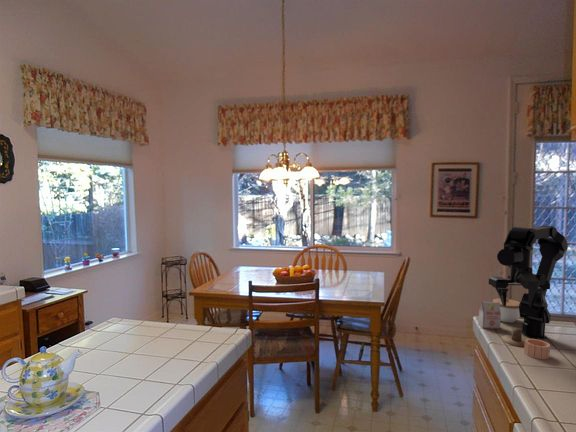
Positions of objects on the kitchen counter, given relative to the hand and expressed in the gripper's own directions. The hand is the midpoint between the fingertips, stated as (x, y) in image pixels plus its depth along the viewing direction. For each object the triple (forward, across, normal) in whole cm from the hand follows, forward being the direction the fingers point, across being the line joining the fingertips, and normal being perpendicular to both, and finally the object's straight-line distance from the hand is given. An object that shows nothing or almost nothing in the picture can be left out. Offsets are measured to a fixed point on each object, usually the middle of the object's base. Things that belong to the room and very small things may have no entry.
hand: (517, 306), depth 137 cm
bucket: (+13, +2, -9) cm, 16 cm away
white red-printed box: (+14, -1, +16) cm, 21 cm away
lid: (+14, +1, +1) cm, 14 cm away
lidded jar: (+14, +10, +25) cm, 30 cm away
